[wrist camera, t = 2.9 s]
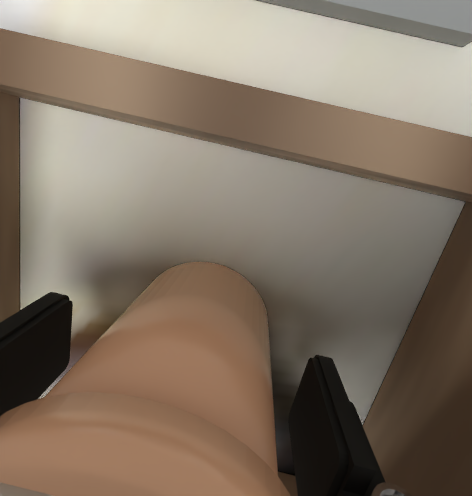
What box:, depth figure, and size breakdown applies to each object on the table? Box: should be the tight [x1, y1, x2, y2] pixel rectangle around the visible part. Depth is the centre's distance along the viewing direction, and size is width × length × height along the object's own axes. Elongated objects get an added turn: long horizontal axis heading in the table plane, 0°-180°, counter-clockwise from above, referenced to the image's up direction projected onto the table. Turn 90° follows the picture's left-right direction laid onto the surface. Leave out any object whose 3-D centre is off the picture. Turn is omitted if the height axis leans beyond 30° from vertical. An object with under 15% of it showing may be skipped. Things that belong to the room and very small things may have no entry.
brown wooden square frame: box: [0, 28, 472, 496], centre depth 10 cm, size 20×18×6 cm
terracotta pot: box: [0, 262, 291, 496], centre depth 9 cm, size 7×7×9 cm
